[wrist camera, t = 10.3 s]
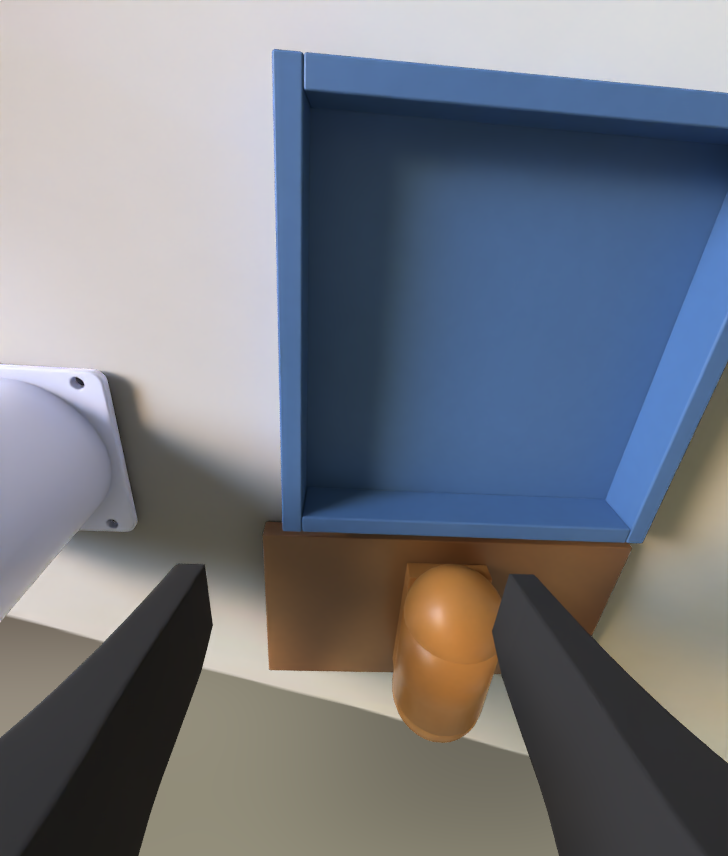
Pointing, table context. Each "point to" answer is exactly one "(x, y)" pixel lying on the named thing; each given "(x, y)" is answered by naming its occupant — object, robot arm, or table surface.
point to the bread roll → (444, 648)
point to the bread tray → (492, 296)
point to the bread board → (383, 586)
